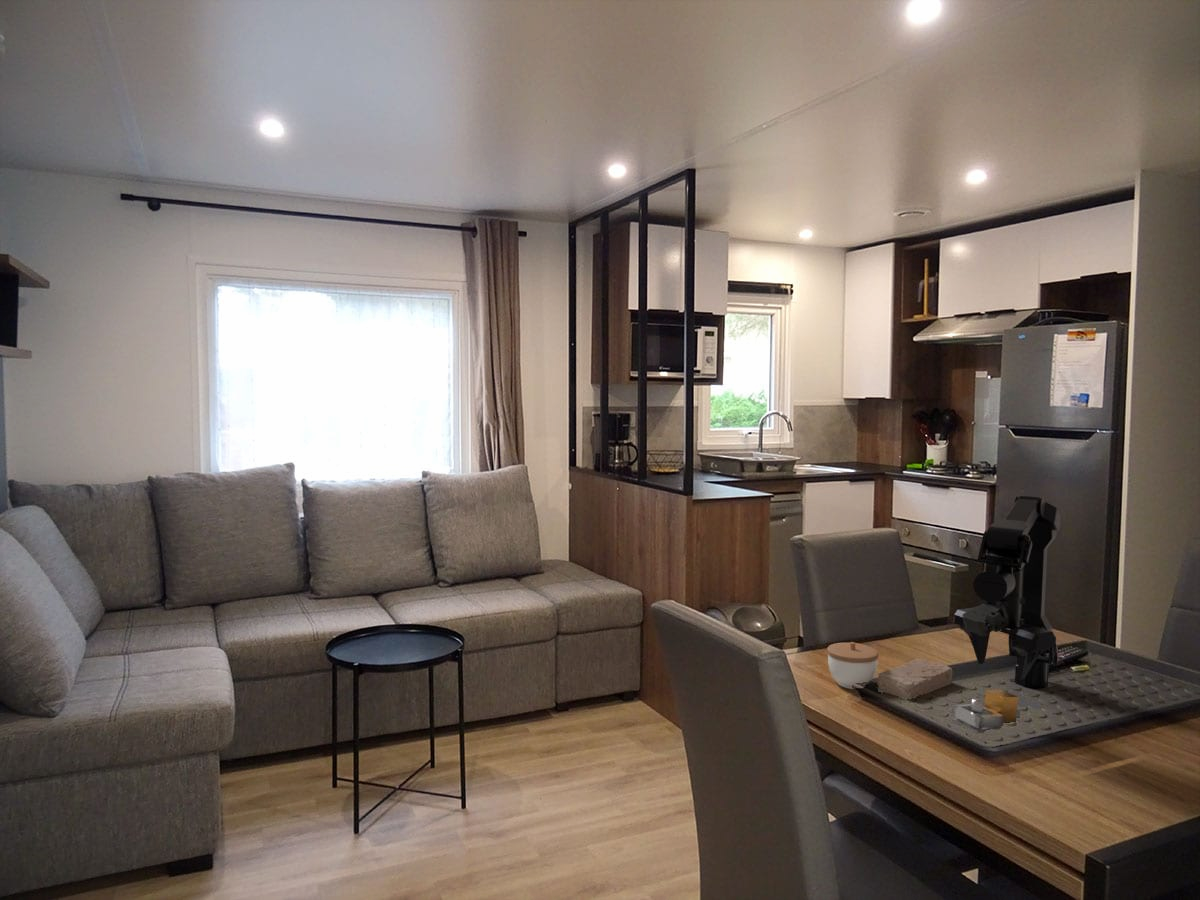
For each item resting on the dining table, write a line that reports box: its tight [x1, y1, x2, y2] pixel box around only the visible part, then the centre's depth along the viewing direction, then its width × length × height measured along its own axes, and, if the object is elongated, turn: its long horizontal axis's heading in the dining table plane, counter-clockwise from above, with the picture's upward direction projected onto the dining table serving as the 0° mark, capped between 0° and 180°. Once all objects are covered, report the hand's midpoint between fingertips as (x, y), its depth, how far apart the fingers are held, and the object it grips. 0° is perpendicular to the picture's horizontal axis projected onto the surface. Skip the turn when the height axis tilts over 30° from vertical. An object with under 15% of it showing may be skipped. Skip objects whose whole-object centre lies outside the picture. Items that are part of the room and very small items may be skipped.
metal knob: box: [952, 697, 1001, 732], centre depth 153 cm, size 6×6×5 cm
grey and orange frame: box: [951, 689, 1020, 728], centre depth 154 cm, size 14×6×5 cm, turn 113°
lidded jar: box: [826, 641, 879, 690], centre depth 176 cm, size 11×11×9 cm
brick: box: [876, 658, 953, 699], centre depth 173 cm, size 17×8×5 cm, turn 126°
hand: (1000, 671), depth 154 cm, fingers open, 9 cm apart
